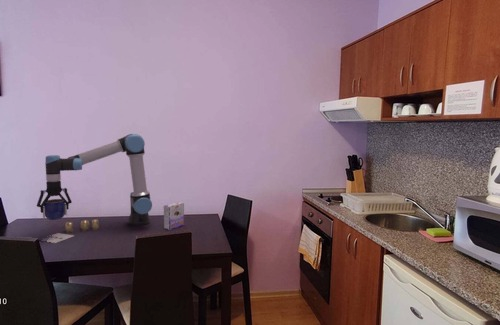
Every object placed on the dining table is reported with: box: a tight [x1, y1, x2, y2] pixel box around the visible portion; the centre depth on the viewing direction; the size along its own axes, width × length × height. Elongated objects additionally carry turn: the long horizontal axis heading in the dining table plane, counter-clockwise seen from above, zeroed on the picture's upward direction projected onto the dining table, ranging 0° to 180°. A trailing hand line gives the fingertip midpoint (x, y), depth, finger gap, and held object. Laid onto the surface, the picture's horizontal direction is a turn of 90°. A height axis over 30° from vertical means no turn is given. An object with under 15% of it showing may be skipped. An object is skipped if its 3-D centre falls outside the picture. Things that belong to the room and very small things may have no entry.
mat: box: [46, 232, 75, 244], centre depth 199 cm, size 14×14×1 cm
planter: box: [44, 198, 66, 221], centre depth 197 cm, size 11×11×11 cm
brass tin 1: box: [65, 221, 74, 233], centre depth 212 cm, size 4×4×6 cm
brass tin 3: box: [91, 218, 99, 230], centre depth 219 cm, size 4×4×6 cm
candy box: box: [163, 201, 185, 231], centre depth 224 cm, size 14×6×16 cm, turn 145°
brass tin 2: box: [80, 219, 89, 231], centre depth 217 cm, size 4×4×6 cm
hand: (55, 216), depth 198 cm, fingers closed on planter, 11 cm apart
